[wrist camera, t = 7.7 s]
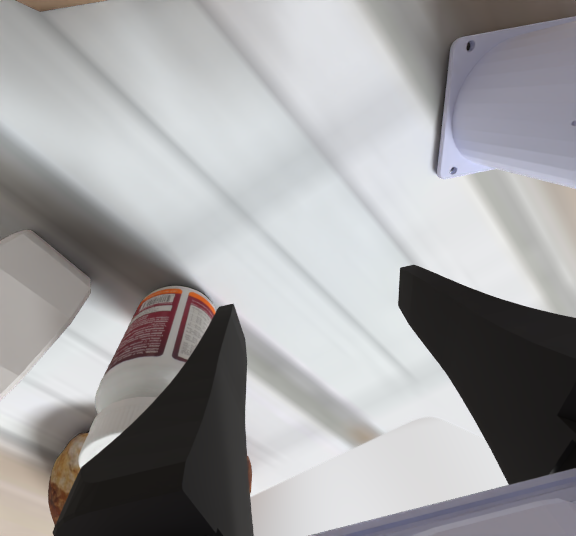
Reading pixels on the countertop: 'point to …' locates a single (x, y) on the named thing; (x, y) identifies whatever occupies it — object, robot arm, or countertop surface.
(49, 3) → the walnut base
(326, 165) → the countertop surface
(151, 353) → the pill bottle
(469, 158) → the robot arm
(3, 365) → the soap bottle
